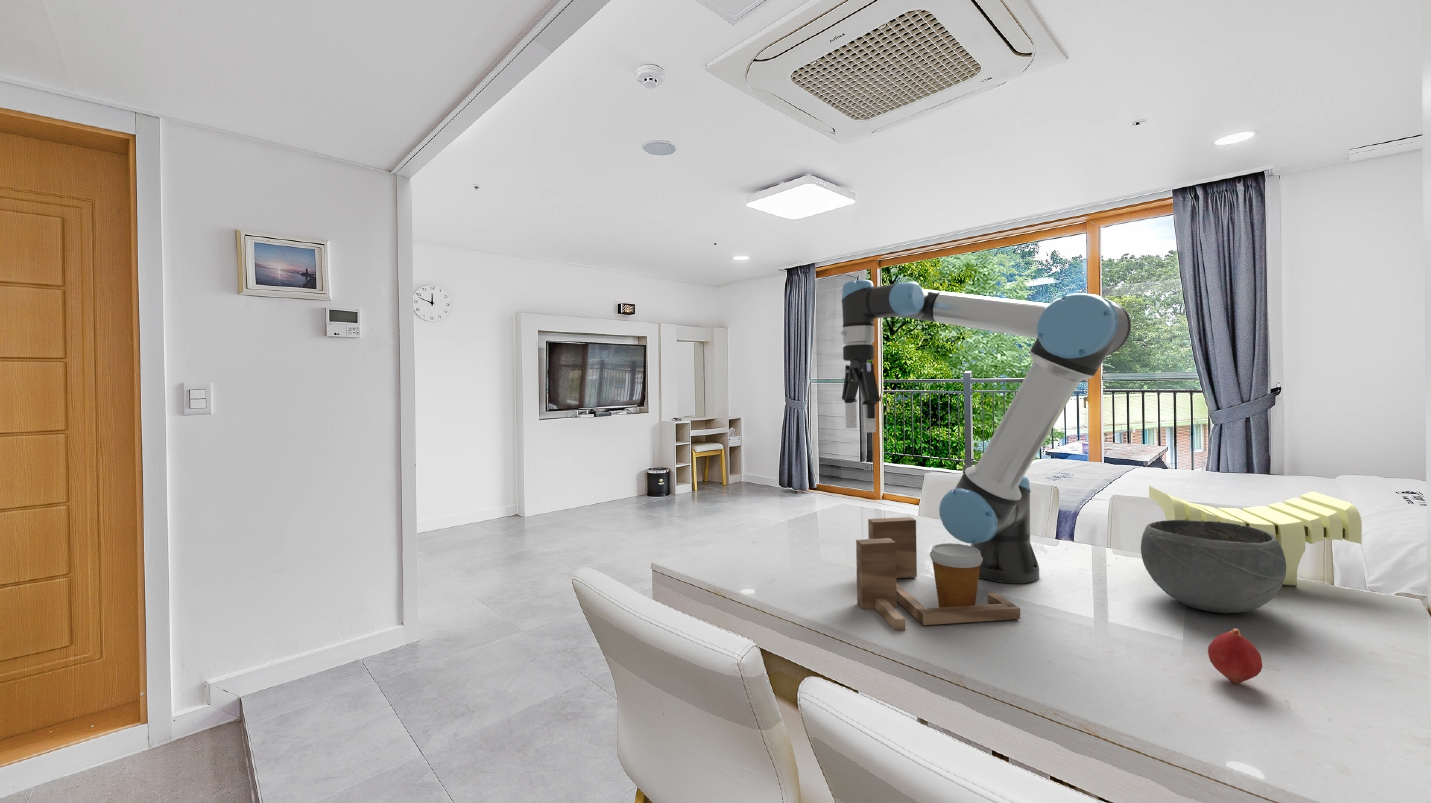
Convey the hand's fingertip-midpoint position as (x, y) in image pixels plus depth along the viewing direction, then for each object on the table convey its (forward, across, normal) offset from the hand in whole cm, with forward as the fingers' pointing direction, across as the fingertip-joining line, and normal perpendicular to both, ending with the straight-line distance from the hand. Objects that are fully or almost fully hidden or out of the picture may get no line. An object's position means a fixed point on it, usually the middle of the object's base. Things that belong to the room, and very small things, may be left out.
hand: (860, 430), depth 141 cm
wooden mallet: (+33, +33, -7) cm, 47 cm away
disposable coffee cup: (+33, +33, +7) cm, 47 cm away
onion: (+33, +63, +33) cm, 78 cm away
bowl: (+33, +38, +55) cm, 75 cm away
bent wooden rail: (+32, +25, +7) cm, 42 cm away
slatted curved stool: (+33, +24, +78) cm, 88 cm away
